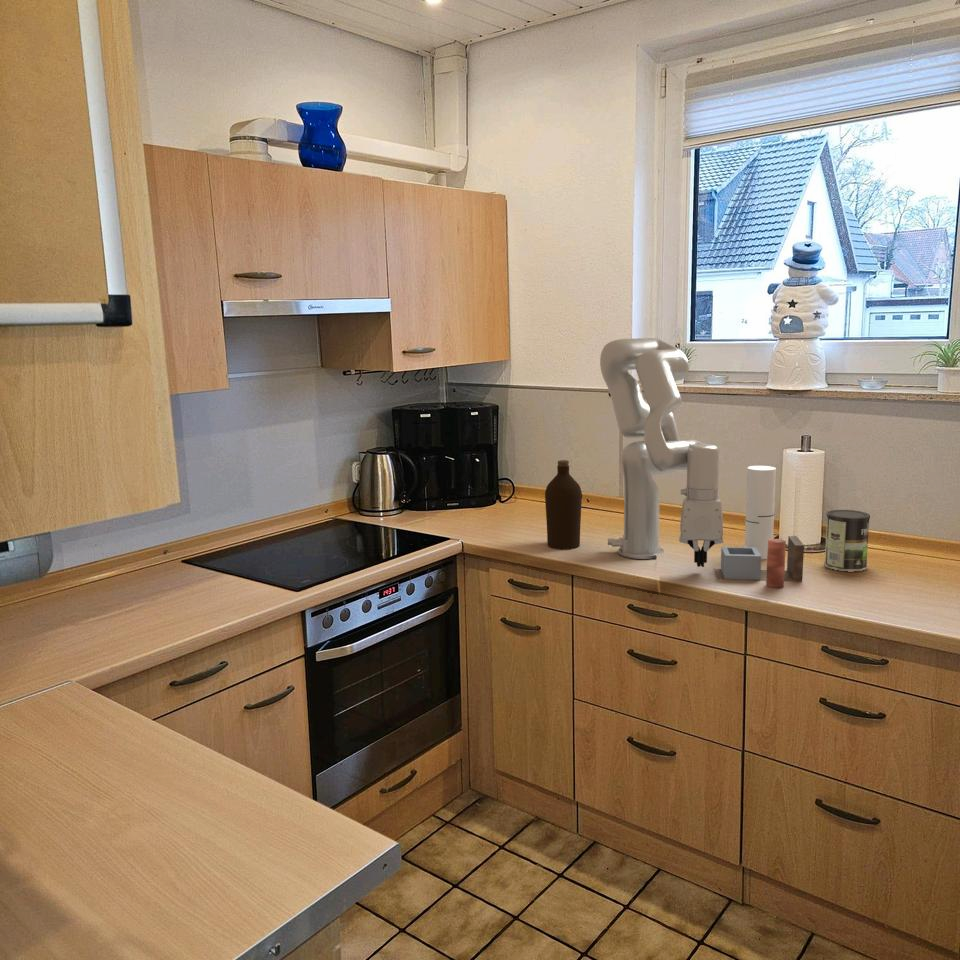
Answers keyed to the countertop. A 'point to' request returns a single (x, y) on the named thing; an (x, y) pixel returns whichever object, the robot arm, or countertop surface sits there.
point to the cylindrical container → (760, 507)
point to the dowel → (775, 563)
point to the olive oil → (563, 509)
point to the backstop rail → (793, 562)
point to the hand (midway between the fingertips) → (700, 565)
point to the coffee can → (847, 540)
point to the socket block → (740, 563)
